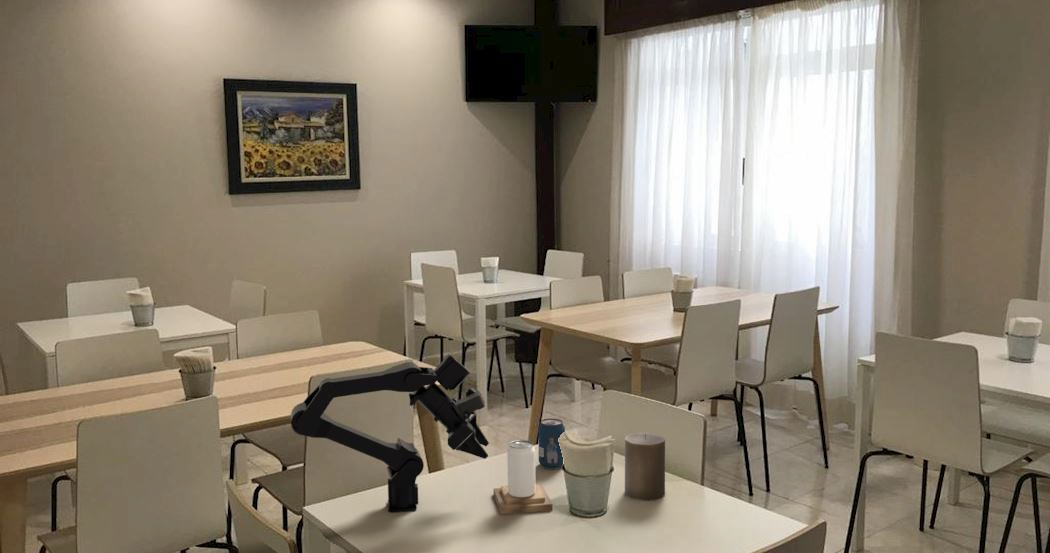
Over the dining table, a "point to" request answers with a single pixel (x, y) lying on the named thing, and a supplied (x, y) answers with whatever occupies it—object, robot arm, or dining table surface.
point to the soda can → (550, 443)
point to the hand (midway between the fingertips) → (487, 450)
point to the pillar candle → (645, 466)
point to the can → (521, 469)
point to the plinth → (522, 501)
